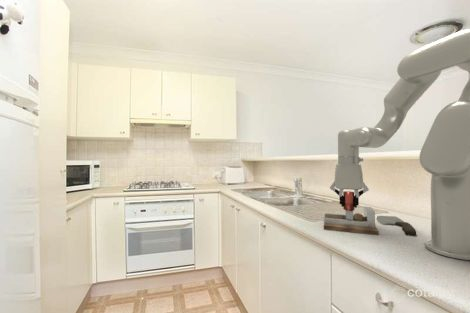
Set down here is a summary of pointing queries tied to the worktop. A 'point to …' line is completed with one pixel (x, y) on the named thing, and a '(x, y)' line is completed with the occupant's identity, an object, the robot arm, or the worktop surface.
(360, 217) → the walnut
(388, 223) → the cleaver
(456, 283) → the worktop surface
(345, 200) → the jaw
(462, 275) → the worktop surface
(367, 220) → the press frame
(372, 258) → the worktop surface
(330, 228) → the press base
